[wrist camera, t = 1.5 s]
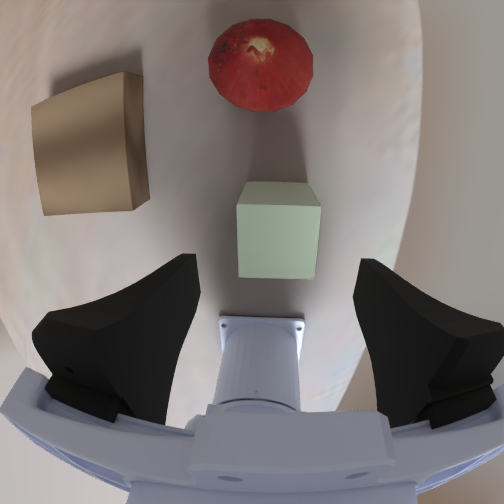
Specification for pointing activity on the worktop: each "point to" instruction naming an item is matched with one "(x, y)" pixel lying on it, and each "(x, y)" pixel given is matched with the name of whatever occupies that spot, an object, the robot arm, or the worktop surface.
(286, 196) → the sage block
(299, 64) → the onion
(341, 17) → the worktop surface
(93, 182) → the walnut base
